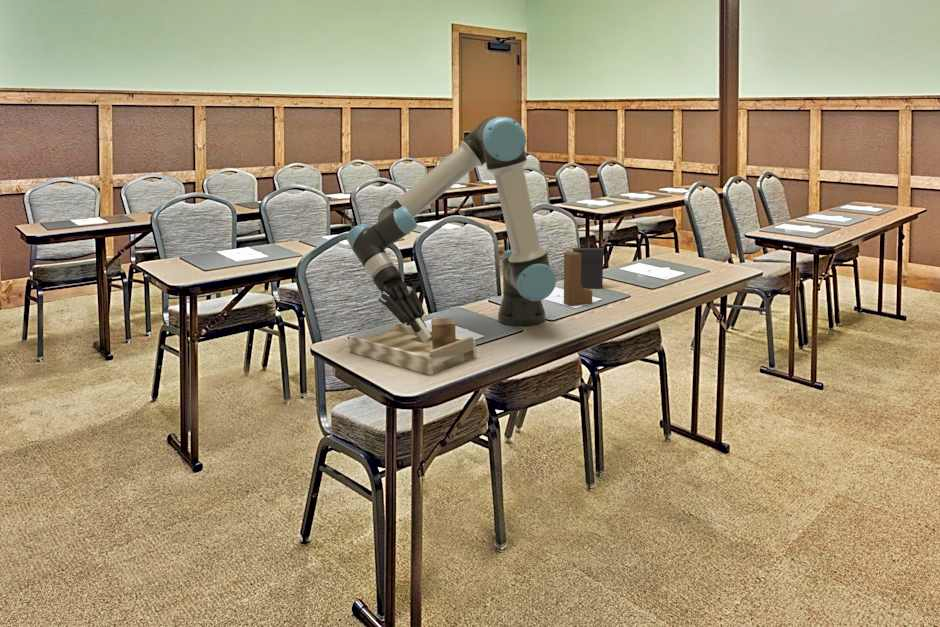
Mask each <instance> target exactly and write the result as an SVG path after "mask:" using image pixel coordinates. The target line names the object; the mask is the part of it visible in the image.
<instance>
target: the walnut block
mask: <svg viewBox="0 0 940 627" xmlns="http://www.w3.org/2000/svg"><path fill="white" fill-rule="evenodd" d="M430 321H431V331H432V347H433V350H434V349H437V348H440V347H442V346H445V345H448V344H451V343H454V342H456V337H457V336H456V335H457V334H456V322H455V320H454V318H453V317H445V318H444V317H443V318H431V320H430Z"/></svg>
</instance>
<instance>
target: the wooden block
mask: <svg viewBox="0 0 940 627" xmlns="http://www.w3.org/2000/svg"><path fill="white" fill-rule="evenodd" d="M563 303H564V304H565V305H567V306H569V307H572V306H580V305H588V304H593V290H592V289H587V288H583V287H582V285H581V253H578V252H575V251H574V252H573V251H564V253H563Z"/></svg>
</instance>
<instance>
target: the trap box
mask: <svg viewBox="0 0 940 627" xmlns="http://www.w3.org/2000/svg"><path fill="white" fill-rule="evenodd" d="M392 324H393V325H392V328H393V329H392V330H390V331H386V332H382V333H379V334H376V335H372V336H369V337H366V338H361V337H357V336H353V335H351V336H348V343H349V344H348V345H349V352H350V353H352V354H355V355H359V356H363V357H366V358H370V359H373V360H377V361H379V360H380V362H382V363H386V362H387V364H390V365H393V366H397V367H401V368H403V369H408V370H411V371H414V372H417V373H421V374H425V375H428V376H431V375H434V374H437V373H439V372H443V371H445V370H447V369H450V368H452V367H453V368H454V366H457V365H460V364H463V363H465V362H469V361H470V360H474V359H475V358H477V356H478V354H477V341H475V340H474V337H473V336H468V337H465V338H462V337H458V336H456V342H454V343H451V344H448V345H445V346H442V347H440V348H437V349H434V350H433V347H432V337H431V339H430V340H429V341H428V342H426V343H423V341H422V340H421V338H420V337H419V335H418V334H417V333H415V332H414V330H413V329H412V327H411V326H410V325H409V326H407V325H406V324H402V323H401V322H393V323H392ZM428 331H429V333H430V334H431V336H432V330H429V329H428Z"/></svg>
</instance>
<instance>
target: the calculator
mask: <svg viewBox="0 0 940 627" xmlns="http://www.w3.org/2000/svg"><path fill="white" fill-rule="evenodd" d="M574 251H575V252H578V253H581V285H582V287H583V288H587V289H589V290H592V289H593V290H594V289H595V290H596V289H603V280H604V278H603V277H604V276H603V275H604V274H603V273H604V249H603V248H602V247H574V248H572V252H574Z"/></svg>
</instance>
